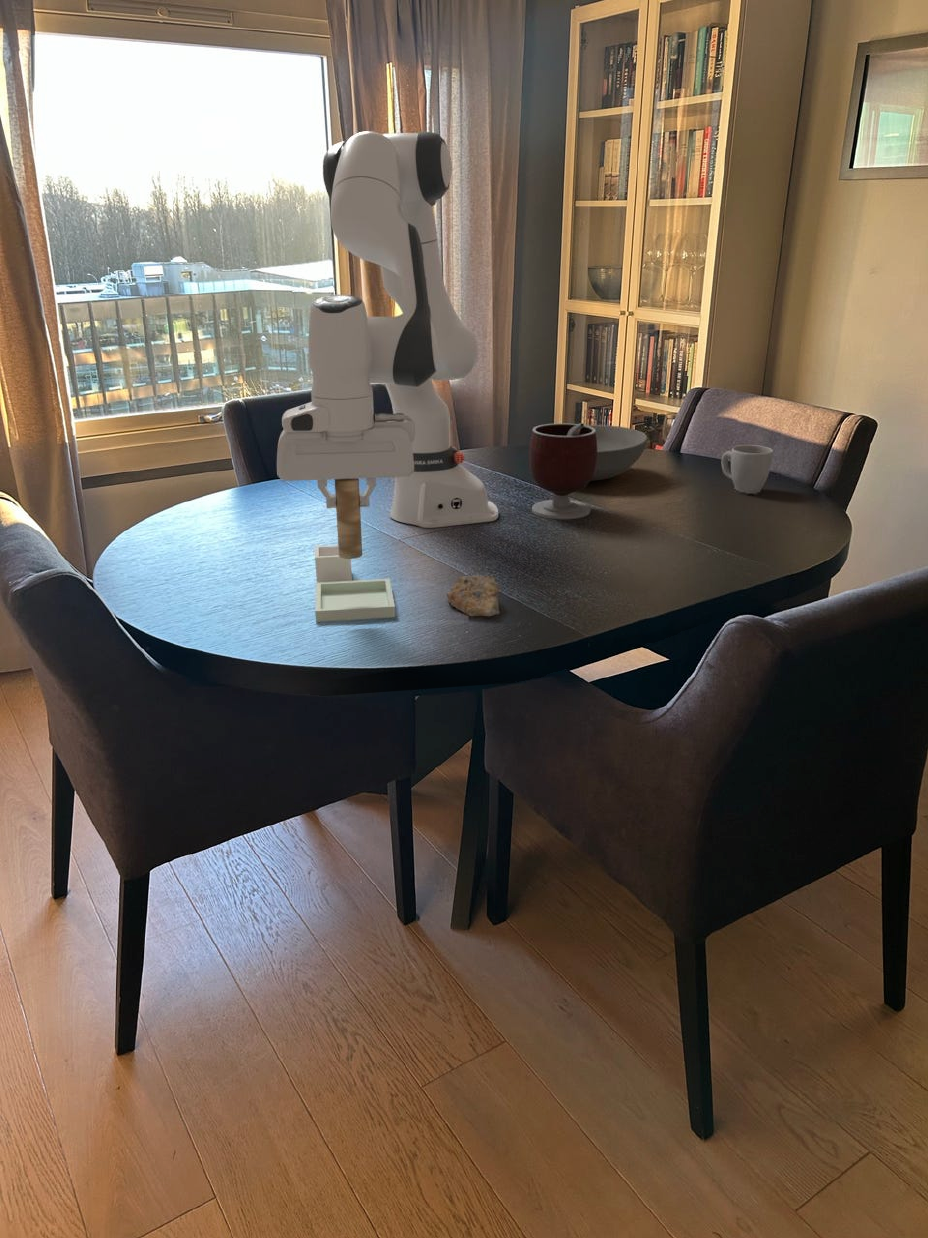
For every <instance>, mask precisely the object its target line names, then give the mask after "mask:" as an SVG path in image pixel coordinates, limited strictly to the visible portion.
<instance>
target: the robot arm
mask: <svg viewBox="0 0 928 1238" xmlns="http://www.w3.org/2000/svg"><path fill="white" fill-rule="evenodd" d="M452 175H453V161H452V156H451V153H450V151H449V149H448V146H447V143H446V141H445V140H444V138H443V137H442V136H441V135H440V134H439V133H436V132H431V131H422V130H420V131H419V132H418V133H416V132H391V133H389V132H387V133H380V132H376V131H372V130H371V131H370V130H369V131H366V130H365V131H359V132H357V133H355V134H354V135H352V136H350V137H349V138H348V139H347V140H343V141H340V142H338V143H335V144H333V145H332V146H331V145H330V146H329V148H328V150H327V151H326V153H325V155H324V156H323V161H322V179H323V184H324V186H325V187H324V188H325V191H326V193H327V196H328V197H329V199H330V223H331V229H332V232H333V234H334V235H335V237H336V239H337V241H338V242H339V243H340V244H341V246H342V247H343V248H344V249H346V250H347V252H349V253H350V254H351V255H353V256H355V257H357V258H359V259H361V260H362V261H365V262H369V263H373V264H375V265H378V266H380V271H381V278H382V286H383V288H384V291H385V293H386V294H388V295H387V296H389V297H390V298H391V299H392V300H394V302H395V303H396V304H397V305H398V307H399V309H400V310H401V312H402V313H400V314H398V315H396V316H368V314H367V309H366V304H365V302H364V300H363V299H362V298H360V297H358V296H354V295H351V294H331V295H327V296H321V297H319V298H317V299H315V300H314V301H313V302H312V303H311V305H310V309H309V310H310V311H309V320H308V337H307V338H308V340H307V341H308V342H307V343H308V344H307V345H308V362H309V367H310V370H311V373H312V387H311V391H310V392H311V393H310V394H311V395H310V396H311V401H310V402H307V403H304V404H301V405H299V406H296V407H295V406H294V407H293V408H290V409H287V410H286V411H284V413H283V415H282V417H281V425H282V428H283V430H282V431H281V432H280V436H279V439H278V443H277V452H276V474H277V477H278V478H279V479H281V481H283V482H293V481H295V482H299V481H317V488H318V489H319V490H320V492H321V494H322V495H323V497H324V498H325V500H326V501H325V503H326V509H336V496H335V494H333V493H332V494H331V493H330V491H329V489H328V488H327V486H328V481H329V480H335V479H359V480H360V479H365V481H366V485H367V487H366V489H365V491H364V492H362V493H361V492H359V493H360V496H359V497H360V508H369V507H370V503H371V502H370V496H371V495H372V493H373V491H374V489H375V488H376V486H377V479H380V478H381V479H385V478H387V479H388V478H394V479H395V481H394V491H393V497H392V498H393V500H392V503H391V504H392V505H391V508H390V513H389V517H390V518H391V519H392V520H395V521H397V522H400V523H404V524H408V525H414V526H418V527H420V528H424V529H431V528H433V529H435V528H442V527H451V526H459V525H470V524H478V523H479V524H480V523H486V522H487V523H488V522H494V521H496V520H497V519H498V518H499V509H498V507H497V505H496V504H495V503H493V502H492V501H490V500H489V499H488V493H487V489H486V487H485V485H484V483H483V482H482V481H481V479H479V478H478V477H477V476H476V475H474V473H471V472H470V471H469V470H467V468H465V467H464V466H462V465H461V464H463V463H464V461H465V460H466V459H465V458H466V457H465V455H464V454H463V452H461V451H460V450H459V449H457V448H456V447H455V446H451V436H450V435H451V429H450V428H451V426H450V425H451V424H450V420H451V419H450V417H451V416H450V409H449V407H448V405H447V403H446V402H445V401H444V400H443V399H442V398H441V397H440V395H439V394H438V393H437V391H436V389H435V386H434V384H433V381H432V380H435V381H439V382H440V381H441V382H443V381H444V382H446V381H453V380H454V381H455V380H459V379H464V378H466V377H467V376H469V375H470V374H471V372H472V371H473V370H474V368H475V366H476V365H477V361H478V358H479V345H478V341H477V338H476V336H475V333H473V331H472V330H471V329H470V328H469V327H468V326H466V324H465V323H464V322H463V321H462V320H461V318H460V317H459V315H458V314H457V312H456V310H455V308H454V305H452V303H451V301H450V298H449V295H448V293H447V290H446V286H445V283H444V279H443V273H442V265H441V264H442V263H441V257H440V256H441V255H440V248H439V240H438V231H437V224H436V219H435V214H434V210H433V209H434V208H433V207H434V206H436V204H437V201H438V200H440V199H442V198H443V197H444V195H445V194H446V193H447V192H448V190H449V188H450V185H451V179H452ZM372 384H384V385H385V388H386V390H387V393H388V395H389V399H390V403H391V406H392V413H374V411H375V410H374V392H373V391H374V390H373V386H372Z"/></svg>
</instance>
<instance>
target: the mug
mask: <svg viewBox="0 0 928 1238" xmlns="http://www.w3.org/2000/svg"><path fill="white" fill-rule="evenodd" d="M773 458H774V450H773V449H772V448H771V447H768V446H764V445H757V444H741V445H740V444H739V445H735V446H733V447H732V448H731V450H727V451H725V452H724V453H723V454H722V456H721V464H720V465H721V470H722V472H723V474H724V477H726V478H728V479H730V480H731V481H732V483H733V485H734V490H735V489H736V490H738V491H740V492H746V493H756V492H760V493H761V491H762V488H763V487H764V485H765V483H766V482H767V479H768V477H769V475H770V474H769V473H770V470H771V468H772V463H773ZM729 459H730V467H729Z"/></svg>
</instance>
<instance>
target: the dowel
mask: <svg viewBox="0 0 928 1238" xmlns="http://www.w3.org/2000/svg"><path fill="white" fill-rule="evenodd" d="M334 490H335V491H334V493H335V496H336V508H335V511H336V524H337V525H336V528H337V544H338V548H339V557H341V558H344V559H351V560H354V559H359V558H361V557H362V556H363V544H362V543H363V540H362V539H363V538H362V519H361V517H362V516H361V515H362V514H361V507H360V497H359V496H360V493H361V492H360V478H359V479H334Z"/></svg>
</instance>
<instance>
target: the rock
mask: <svg viewBox="0 0 928 1238" xmlns="http://www.w3.org/2000/svg"><path fill="white" fill-rule="evenodd" d="M498 594H499V586H498V584H497V583H496V580H495V578H494V576H486V575H483V574H482V575H481V574H480V575H479V574H476V575H475V574H469V575H463V576H458V579H457V581H456V582H455V583H454V585H453V586H452V587H451V588H450V590H448V592H447V593H446V599H447V602H448V603H449V604H450V605H451V607H454V608H455V609H456V610H459V611H461V612H463V613H464V614H465V615H467V616H470V617H480V616H481V617H492V616H495V615H499V614H500V610H499V608H500V606H499V602H498Z"/></svg>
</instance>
